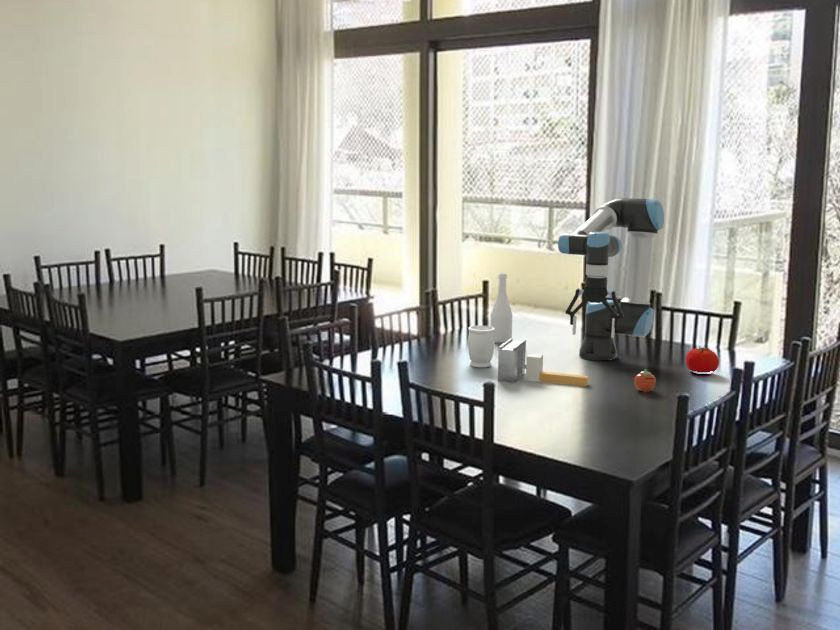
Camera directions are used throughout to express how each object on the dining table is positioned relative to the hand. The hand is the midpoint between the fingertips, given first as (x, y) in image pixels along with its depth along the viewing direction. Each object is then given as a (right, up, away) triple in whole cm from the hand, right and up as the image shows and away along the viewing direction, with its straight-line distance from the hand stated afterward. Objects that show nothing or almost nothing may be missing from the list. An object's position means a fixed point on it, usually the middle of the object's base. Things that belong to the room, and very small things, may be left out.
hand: (593, 335), depth 311 cm
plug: (-13, -17, +7) cm, 22 cm away
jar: (-38, -13, +30) cm, 50 cm away
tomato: (+45, -15, +21) cm, 52 cm away
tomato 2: (+17, -20, -4) cm, 26 cm away
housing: (-28, -16, +13) cm, 34 cm away
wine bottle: (-26, -4, +73) cm, 78 cm away
